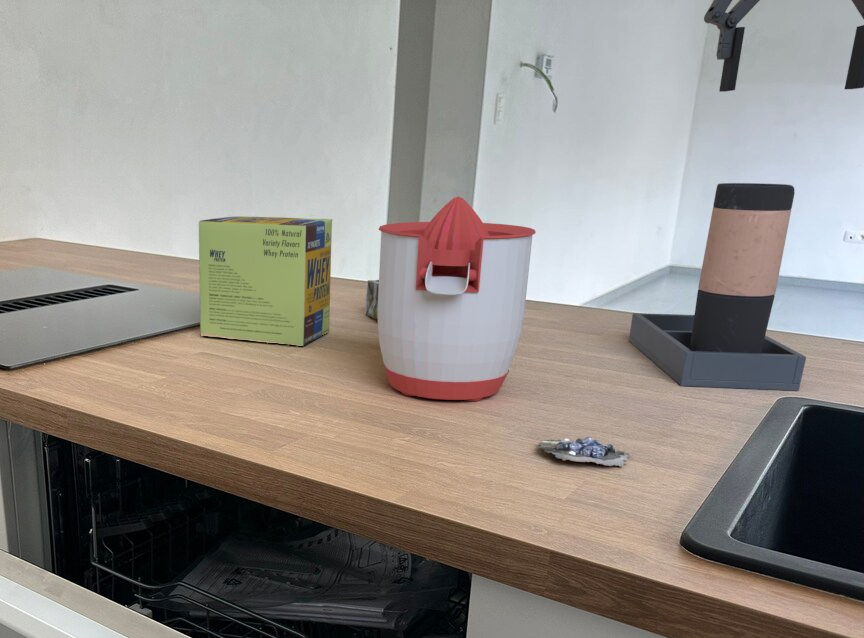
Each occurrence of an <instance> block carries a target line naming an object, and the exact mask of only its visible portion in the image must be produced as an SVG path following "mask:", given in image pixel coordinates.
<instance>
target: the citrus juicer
mask: <svg viewBox="0 0 864 638" xmlns="http://www.w3.org/2000/svg"><path fill="white" fill-rule="evenodd" d="M378 231H379V232H380V248H379V250H380V251H379V270H378V271H379V272H378V280H379V290H378V320H377V333H378V334H377V335H378V340H379V348H380V353H381V356H382V360H383V368H384V371H385V374H386V377H387V379H388V382H389V385H390V386H391V387H392V388H393V389H395V390H397V391H399V392H401V394H402V395H403V394H404V396H406V397H411V396H417V397H418V398H419V397H421V398H424V399H425V398H426V399H433V400H446V401H448V400H449V401H463V400H464V401H467V402H478V401H481V400H482V399H483V398H487V397H490V396H493V395H496V394H497V393H498V392H499V391H500V389H501V387H502V386H503V384H504V383H505V380H506V378H507V376H508V374H509V372H510V367H511V364H512V362H513V359H514V357H515V354H516V352H517V349H518V345H519V341H520V338H521V335H522V331H523V324H524V319H525V310H526V303H527V302H526V301H527V292H528V291H527V290H528V283H529V272H530V265H531V263H530V261H531V255H532V245H533V244H532V243H533V235H535V234H536V233H537V232H536V230H535V229H534V228H531V227H528V226H523V225H522V226H521V225H515V224H503V223H491V222H483V221H482V219H481V218H480V216H479V215H478V214H477V212H476V211H475V210H474V209H473V208H472V206H471V205H470V204H469V203H468V201H466V200H465V199H464V198H463V197H461V196H456V197H455V196H454V197H453V198H452V199H451V200H450V201H448V202H447V203H445V205H444V206H443V207H442V208H441V209H440V210H439V211H438V212H437V213H436V214H435V215H434V216H433V217H432V219H431V220H430V221H413V222H411V221H408V222H395V223H387V224H382V225H380V226H379V228H378Z"/></svg>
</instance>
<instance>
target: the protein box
mask: <svg viewBox="0 0 864 638" xmlns="http://www.w3.org/2000/svg"><path fill="white" fill-rule="evenodd" d="M332 234H333V219H332V218H304V217H301V218H300V217H283V216H282V217H281V216H280V217H279V216H277V217H276V216H275V217H274V216H241V215H240V216H239V215H238V216H235V215H234V216H225V217H216V218H209V219H201V220H199V221H198V261H199V262H198V263H199V265H198V266H199V269H198V270H199V271H198V272H199V334H200V333H203V334H210V335H218V336H225V337H234V338H242V339H252V340H261V341H269V342H276V343H284V344H294V345H300V346H303V347H305V346H307V345H308V344H310V343H312V342H314V341H316V340H317V339H319V338H321V337H323V336H325V335H327V334H329V333H330V318H331V316H330V314H331V313H330V312H331V310H330V309H331V307H330V305H331V274H332V273H331V271H332V270H331V269H332V237H333V236H332ZM328 332H329V333H328ZM326 333H327V334H326ZM324 334H325V335H324ZM322 335H323V336H322ZM315 339H316V340H315ZM313 340H314V341H313ZM311 341H312V342H311ZM309 342H310V343H309ZM307 343H308V344H307ZM304 345H305V346H304Z"/></svg>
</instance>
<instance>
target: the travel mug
mask: <svg viewBox="0 0 864 638" xmlns="http://www.w3.org/2000/svg"><path fill="white" fill-rule="evenodd" d="M795 194H796V193H795V187H794V186H793V185H791V184H786V183H785V184H783V183H760V182H759V183H757V182H755V183H754V182H751V183H750V182H724V183H723V182H720V183H718V184H717V185H716V189H715V194H714V200H713V207H712V211H711V215H710V221H709V227H708V233H707V239H706V243H705V249H704V254H703V259H702V265H701V272H700V276H699V282H698V286H697V287H698V289H697V293H696V299H695V300H696V301H695V309H694V314H693V315H694V322H693V329H692V336H691V344H690V350H691V351H705V352H733V353H761V351H762V347H763V343H764V339H765V335H766V334H767V329H768V325H769V321H770V318H771V312H772V310H773V309H772V308H773V306H774V300H775V296H776V291H777V288H778V287H777V286H778V282H779V278H780V277H779V276H780V272H781V271H780V270H781V266H782V261H783V257H784V256H783V255H784V250H785V246H786V240H787V234H788V229H789V225H790V220H791V219H790V218H791V214H792V208H793V203H794V198H795Z"/></svg>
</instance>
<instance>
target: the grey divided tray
mask: <svg viewBox="0 0 864 638" xmlns="http://www.w3.org/2000/svg"><path fill="white" fill-rule="evenodd" d="M694 315H695V314H677V313H675V314H674V313H646V312H645V313H641V312H633V313H632V315H631V322H630V329H629V336H628V342H629V343H630V344H632V345H633V346H634V347H635V348H636V349H637V350H639V351H640V352H641V353H642V354H643V355H645V356H646V357H647V358H648V359H649V360H650V361H652V362H653V363H654V364H655V365H656V366H658V368H660V370H662V371H663V372H664V373H665V374H666V375H668V377H670V378H671V379H672V380H674V382H676V383H677V384H678V385H679V386H680V387H694V388H695V387H696V388H697V387H698V388H719V389H741V390H742V389H743V390H744V389H746V390H766V391H767V390H768V391H792V392H799V391H800V389H801V383H802V378H803V374H804V369H805V365H806V361H807V356H806V355H804V354H802V353H800V352H798V351H796V350H795V349H793V348H790V347H789V346H787V345H785V344H783V343H781V342H780V341H777V340H775V339H773V338H771V337H770V336H768V335H766V334H765V339H764V343H763V347H762V351H761V353H733V352H705V351H691V350H690V344H691V336H692V329H693V322H694Z"/></svg>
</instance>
